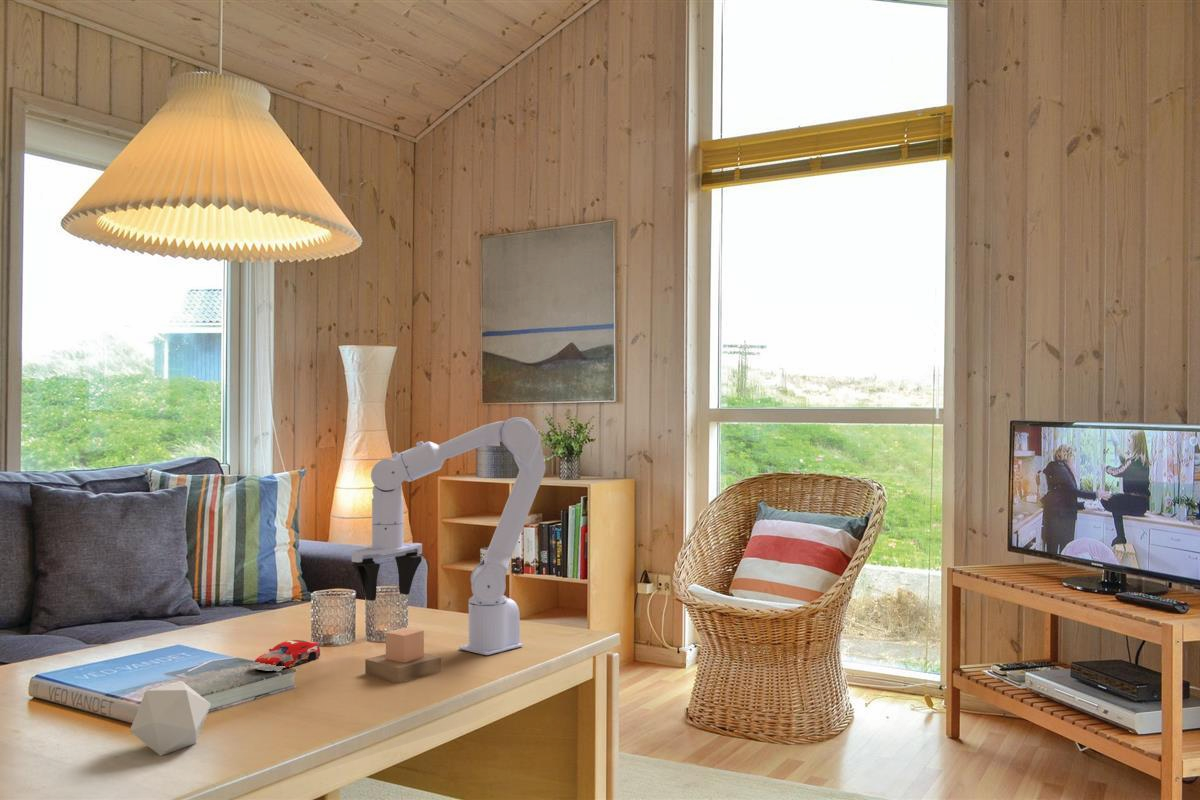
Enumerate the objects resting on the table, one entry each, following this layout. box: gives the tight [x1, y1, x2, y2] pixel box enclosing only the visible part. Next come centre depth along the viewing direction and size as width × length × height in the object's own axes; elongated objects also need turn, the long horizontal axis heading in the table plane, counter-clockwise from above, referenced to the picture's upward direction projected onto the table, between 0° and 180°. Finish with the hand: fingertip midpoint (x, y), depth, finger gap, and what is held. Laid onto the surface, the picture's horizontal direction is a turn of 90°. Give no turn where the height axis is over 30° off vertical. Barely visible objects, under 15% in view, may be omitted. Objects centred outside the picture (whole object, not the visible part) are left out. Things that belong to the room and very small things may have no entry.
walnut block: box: [364, 652, 442, 684], centre depth 160 cm, size 9×9×3 cm
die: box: [129, 680, 212, 756], centre depth 124 cm, size 8×9×10 cm
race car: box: [254, 639, 321, 668], centre depth 166 cm, size 13×5×4 cm, turn 152°
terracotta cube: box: [385, 627, 425, 663], centre depth 160 cm, size 4×4×4 cm
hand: (387, 596), depth 173 cm, fingers open, 7 cm apart
